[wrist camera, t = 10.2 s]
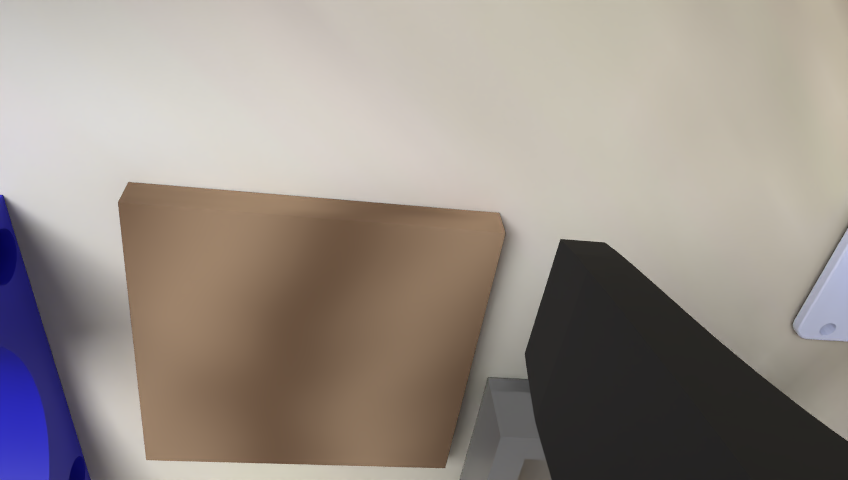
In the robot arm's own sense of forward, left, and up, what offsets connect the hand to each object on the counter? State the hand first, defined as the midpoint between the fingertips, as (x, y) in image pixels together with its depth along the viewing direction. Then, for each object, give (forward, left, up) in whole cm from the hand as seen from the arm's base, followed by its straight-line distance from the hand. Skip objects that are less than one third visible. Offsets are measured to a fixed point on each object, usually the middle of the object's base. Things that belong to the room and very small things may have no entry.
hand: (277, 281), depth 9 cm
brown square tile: (0, +10, -9) cm, 13 cm away
